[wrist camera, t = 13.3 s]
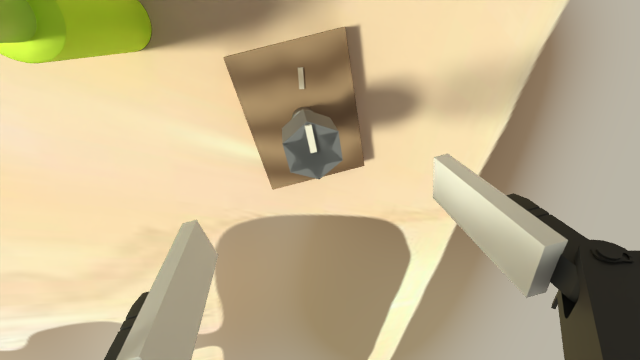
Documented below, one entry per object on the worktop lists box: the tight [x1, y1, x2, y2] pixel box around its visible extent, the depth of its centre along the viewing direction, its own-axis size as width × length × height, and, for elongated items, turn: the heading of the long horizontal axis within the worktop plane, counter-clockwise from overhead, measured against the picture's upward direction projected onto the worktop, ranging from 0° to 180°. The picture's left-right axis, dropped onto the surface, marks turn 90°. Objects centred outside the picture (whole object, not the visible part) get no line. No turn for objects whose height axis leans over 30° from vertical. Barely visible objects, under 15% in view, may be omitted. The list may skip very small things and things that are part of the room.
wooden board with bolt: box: [224, 27, 364, 189], centre depth 31 cm, size 18×14×8 cm
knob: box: [282, 109, 343, 179], centre depth 26 cm, size 6×5×5 cm
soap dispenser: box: [0, 0, 152, 63], centre depth 18 cm, size 6×7×20 cm
